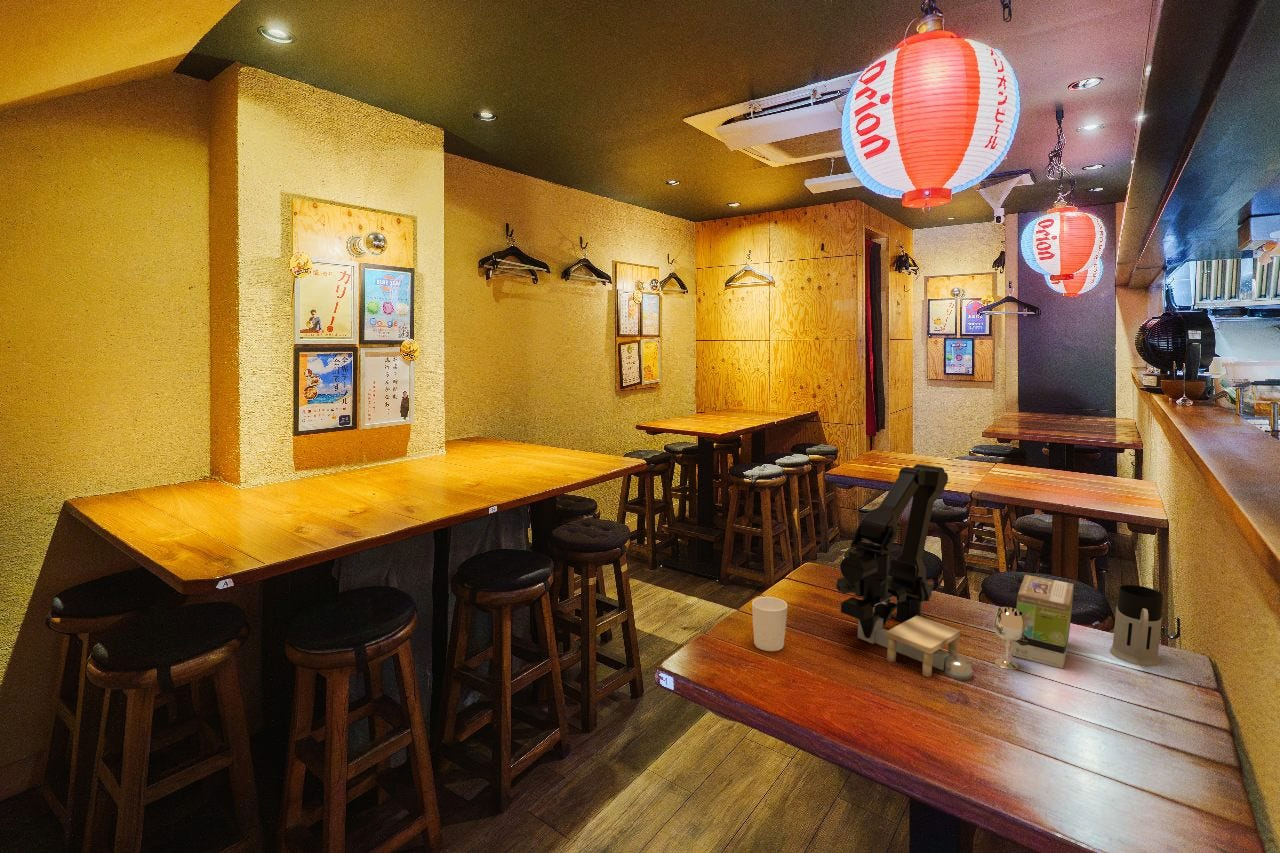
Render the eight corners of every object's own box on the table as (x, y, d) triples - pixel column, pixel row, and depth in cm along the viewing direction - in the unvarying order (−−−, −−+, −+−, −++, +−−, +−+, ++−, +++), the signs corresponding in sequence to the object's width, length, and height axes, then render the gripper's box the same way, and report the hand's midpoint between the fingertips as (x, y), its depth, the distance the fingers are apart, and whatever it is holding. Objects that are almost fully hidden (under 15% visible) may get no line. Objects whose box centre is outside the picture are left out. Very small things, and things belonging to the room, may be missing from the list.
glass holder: (1156, 652, 139) (1163, 588, 137) (1167, 682, 127) (1175, 612, 125) (1107, 643, 144) (1113, 580, 142) (1114, 670, 132) (1120, 603, 130)
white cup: (783, 637, 148) (784, 597, 147) (788, 653, 140) (789, 611, 139) (750, 636, 149) (751, 596, 148) (753, 652, 141) (753, 610, 140)
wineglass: (991, 667, 134) (995, 613, 132) (990, 655, 139) (994, 603, 137) (1022, 673, 131) (1027, 619, 130) (1021, 661, 136) (1025, 608, 135)
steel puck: (952, 665, 135) (953, 652, 134) (975, 675, 131) (976, 662, 130) (940, 673, 132) (940, 659, 132) (963, 683, 128) (964, 669, 127)
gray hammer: (867, 632, 150) (868, 612, 150) (950, 665, 135) (952, 643, 134) (857, 637, 148) (858, 617, 147) (941, 671, 132) (942, 649, 131)
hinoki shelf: (915, 641, 145) (916, 615, 145) (959, 658, 138) (960, 630, 137) (884, 659, 137) (886, 631, 137) (929, 678, 130) (930, 648, 129)
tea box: (1065, 670, 132) (1071, 603, 130) (1010, 656, 138) (1015, 592, 136) (1069, 643, 144) (1074, 581, 142) (1018, 631, 150) (1023, 572, 148)
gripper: (866, 553, 157) (864, 612, 159) (821, 570, 145) (819, 634, 147) (909, 566, 148) (905, 628, 150) (864, 585, 137) (861, 652, 139)
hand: (872, 635), depth 147 cm, fingers closed on gray hammer, 4 cm apart
